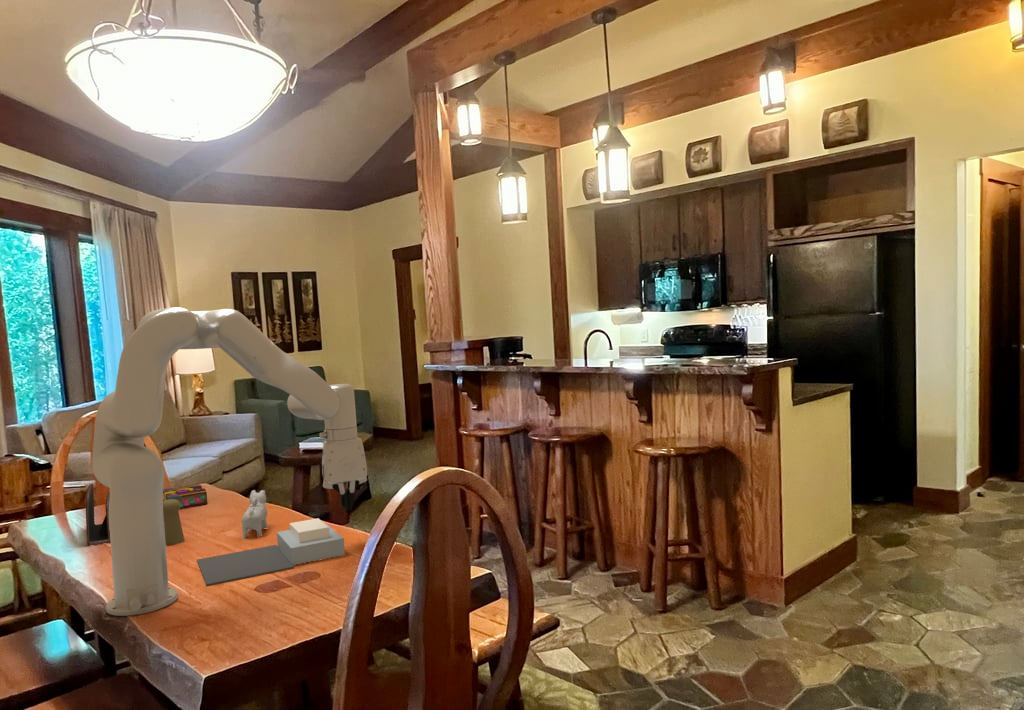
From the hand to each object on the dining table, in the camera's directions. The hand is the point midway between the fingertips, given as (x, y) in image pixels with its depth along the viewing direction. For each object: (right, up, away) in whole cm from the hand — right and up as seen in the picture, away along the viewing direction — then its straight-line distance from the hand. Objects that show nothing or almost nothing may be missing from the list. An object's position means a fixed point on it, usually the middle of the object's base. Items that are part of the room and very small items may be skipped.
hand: (347, 508), depth 173 cm
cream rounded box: (-8, -5, -5) cm, 11 cm away
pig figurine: (-28, -10, +15) cm, 33 cm away
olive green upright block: (-48, -11, +10) cm, 50 cm away
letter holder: (-70, -12, +21) cm, 74 cm away
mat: (-21, -10, -12) cm, 26 cm away
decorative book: (-64, -11, +53) cm, 84 cm away
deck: (-8, -9, -4) cm, 13 cm away
